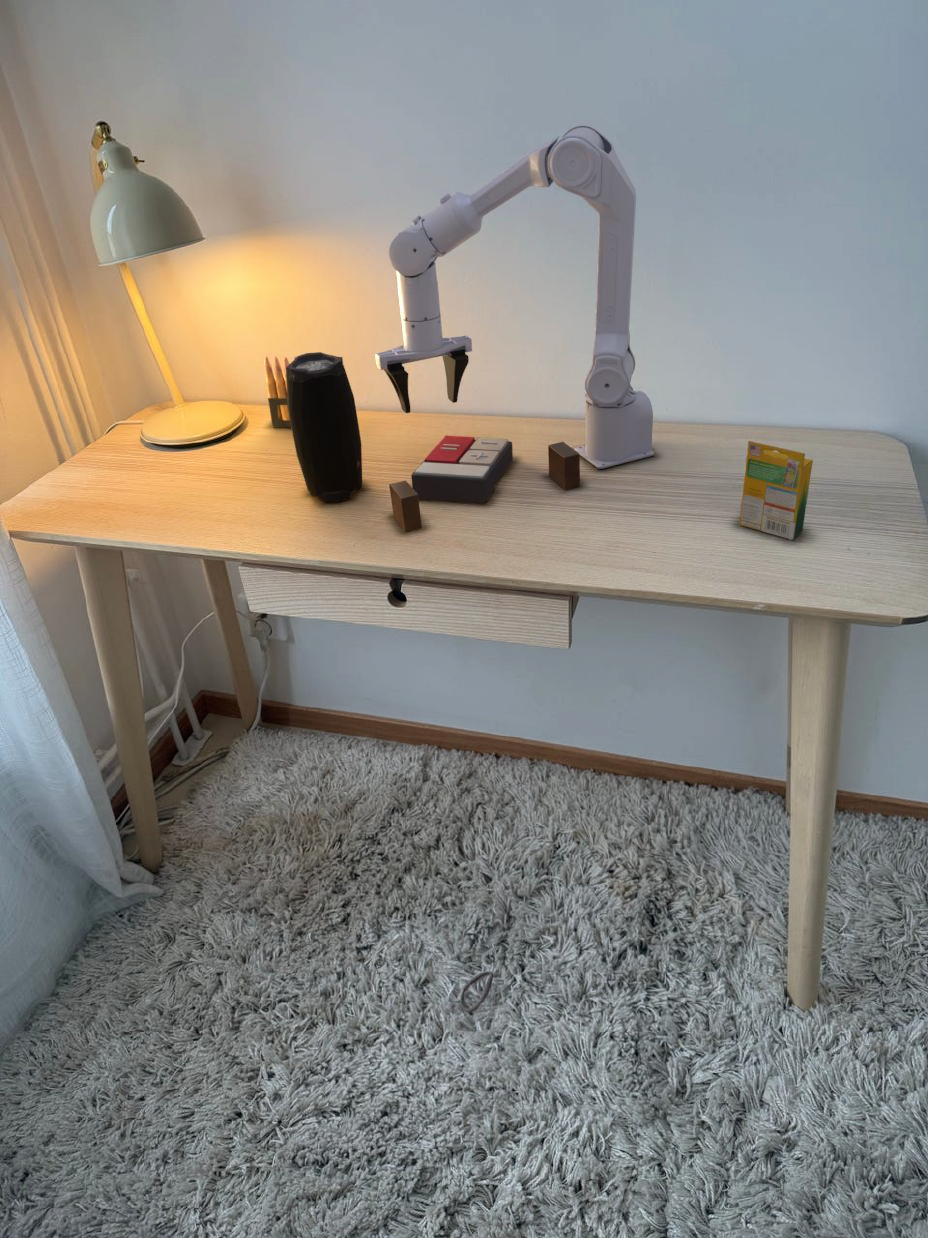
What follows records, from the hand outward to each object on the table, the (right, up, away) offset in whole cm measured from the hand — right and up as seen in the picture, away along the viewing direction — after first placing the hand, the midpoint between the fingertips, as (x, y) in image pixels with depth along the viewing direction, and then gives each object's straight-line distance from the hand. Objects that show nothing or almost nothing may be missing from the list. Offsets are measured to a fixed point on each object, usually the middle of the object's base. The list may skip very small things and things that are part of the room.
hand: (429, 405), depth 140 cm
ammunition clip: (-22, 0, +17) cm, 28 cm away
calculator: (+5, -12, -5) cm, 14 cm away
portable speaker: (-14, -14, -5) cm, 20 cm away
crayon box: (+44, -21, -24) cm, 54 cm away
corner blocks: (+9, -16, -12) cm, 22 cm away
